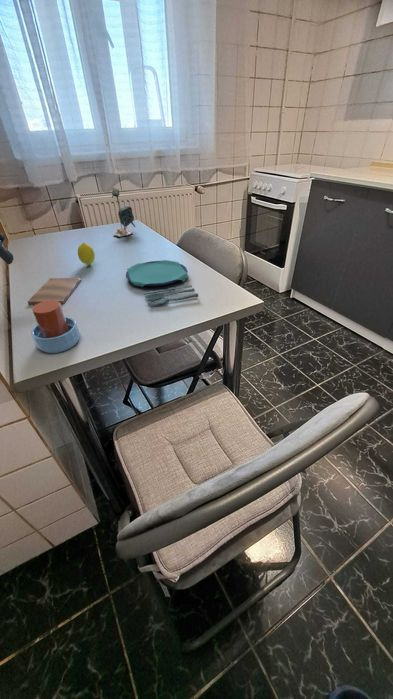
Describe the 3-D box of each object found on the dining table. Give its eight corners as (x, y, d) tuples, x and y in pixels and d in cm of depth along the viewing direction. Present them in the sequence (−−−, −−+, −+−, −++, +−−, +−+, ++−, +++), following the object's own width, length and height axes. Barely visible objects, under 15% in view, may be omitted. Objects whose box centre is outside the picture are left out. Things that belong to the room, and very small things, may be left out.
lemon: (94, 268, 104) (88, 245, 99) (78, 268, 104) (72, 245, 99) (98, 262, 108) (93, 240, 104) (84, 262, 109) (78, 240, 104)
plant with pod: (139, 234, 136) (133, 185, 124) (115, 238, 132) (106, 188, 120) (134, 230, 142) (127, 183, 130) (111, 234, 138) (102, 185, 126)
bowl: (49, 360, 63) (42, 344, 60) (30, 342, 68) (24, 328, 66) (88, 340, 68) (84, 326, 66) (68, 326, 73) (63, 312, 71)
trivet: (63, 304, 83) (62, 300, 82) (28, 304, 83) (27, 301, 82) (81, 280, 96) (80, 277, 95) (51, 281, 96) (50, 278, 95)
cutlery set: (178, 262, 106) (178, 256, 105) (205, 299, 83) (205, 291, 82) (123, 270, 102) (122, 264, 100) (135, 311, 79) (134, 303, 77)
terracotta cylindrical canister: (52, 349, 64) (38, 315, 59) (41, 339, 67) (27, 307, 62) (75, 338, 68) (64, 305, 62) (64, 329, 71) (52, 297, 66)
